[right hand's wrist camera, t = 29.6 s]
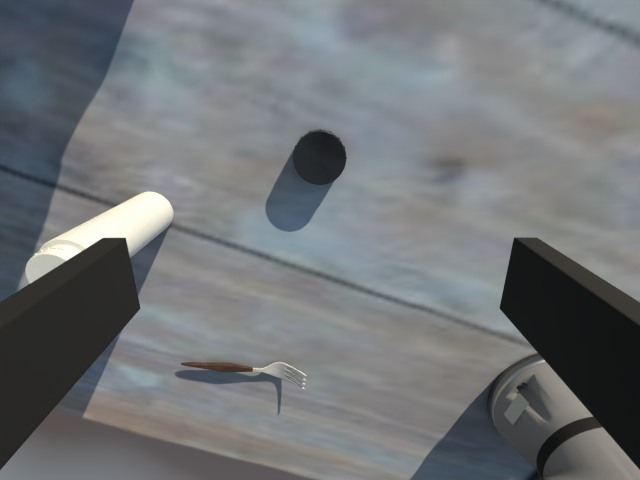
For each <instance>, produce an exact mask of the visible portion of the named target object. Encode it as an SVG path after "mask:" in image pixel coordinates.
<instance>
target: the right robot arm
mask: <svg viewBox="0 0 640 480" xmlns="http://www.w3.org/2000/svg"><path fill="white" fill-rule="evenodd" d="M139 309H140V304H139V299H138V295H137V290H136V285H135V280H134V275H133V270H132V265H131V261H130V256H129V251H128V246H127V241H126V238H102V239H100V240H99V241H97V242H96V243H94V244H92V245H91V246H89V247H88V248H86V249H84V250H83V251H81V252H80V253H78V254H76V255H75V256H73V257H72V258H70V259H69V260H67V261H65V262H64V263H62V264H61V265H59V266H57V267H56V268H54V269H53V270H51V271H49V272H48V273H46V274H45V275H43V276H42V277H40V278H38V279H37V280H35V281H34V282H32V283H30V284H29V285H27V286H26V287H24V288H23V289H21V290H19V291H18V292H16V293H15V294H13V295H11V296H10V297H8V298H7V299H5V300H3V301H2V302H0V470H1V468H2V467H3V466H4V465H5V464H6V463H7V462H8V460H9V459H10V458H11V457H12V456H13V455H14V453H15V452H16V451H17V450H18V449H19V448H20V447H21V445H22V444H23V443H24V442H25V441H26V440H27V438H28V437H29V436H30V435H31V434H32V433H33V431H34V430H35V429H36V428H37V427H38V426H39V425H40V423H41V422H42V421H43V420H44V419H45V418H46V417H47V415H48V414H49V413H50V412H51V411H52V410H53V409H54V407H55V406H56V405H57V404H58V403H59V402H60V400H61V399H62V398H63V397H64V396H65V395H66V394H67V392H68V391H69V390H70V389H71V388H72V387H73V385H74V384H75V383H76V382H77V381H78V380H79V379H80V377H81V376H82V375H83V374H84V373H85V372H86V370H87V369H88V368H89V367H90V366H91V365H92V364H93V362H94V361H95V360H96V359H97V358H98V357H99V355H100V354H101V353H102V352H103V351H104V350H105V349H106V347H107V346H108V345H109V344H110V343H111V342H112V340H113V339H114V338H115V337H116V336H117V335H118V334H119V332H120V331H121V330H122V329H123V328H124V327H125V325H126V324H127V323H128V322H129V321H130V320H131V319H132V317H133V316H134V315H135V314H136V313H137V312H138V310H139ZM500 309H501V310H502V312H503V313H504V314H505V315H506V316H507V317H508V319H509V320H510V321H511V322H512V323H513V324H514V325H515V327H516V328H517V329H518V330H519V331H520V332H521V334H522V335H523V336H524V337H525V338H526V339H527V340H528V342H529V343H530V344H531V345H532V346H533V347H534V349H535V350H536V351H537V352H538V354H534V355H531V356H529V357H526V358H524V359H522V360H520V361H518V362H516V363H515V364H513V365H512V366H510V367H509V368H508V369H507V370H506V371H504V372H503V373H502V374H501V375H500V376H499V378H498V379H497V380H496V382H495V383H494V385H493V387H492V389H491V391H490V394H489V397H488V412H489V415H490V417H491V419H492V421H493V423H494V425H495V427H496V429H497V430H498V432H499V433H500V434H501V435H502V436H503V438H504V439H505V440H506V441H507V442H509V443H510V444H511V445H512V446H513V447H514V448H515V449H516V450H517V451H518V452H519V453H520V454H521V455H522V456H523V457H524V458H525V459H526V460H527V461H528V462H529V463H531V464H532V465H533V466H534V467H535V468H536V469H537V471H538V473H537V474H536V475H535V476H534V477H533V478H532V479H531V480H640V302H638V301H637V300H635V299H633V298H632V297H630V296H629V295H627V294H625V293H624V292H622V291H621V290H619V289H617V288H616V287H614V286H613V285H611V284H610V283H608V282H606V281H605V280H603V279H602V278H600V277H598V276H597V275H595V274H594V273H592V272H591V271H589V270H587V269H586V268H584V267H583V266H581V265H579V264H578V263H576V262H575V261H573V260H571V259H570V258H568V257H567V256H565V255H564V254H562V253H560V252H559V251H557V250H556V249H554V248H552V247H551V246H549V245H548V244H546V243H544V242H543V241H541V240H540V239H538V238H514V241H513V246H512V251H511V256H510V261H509V265H508V270H507V275H506V280H505V285H504V290H503V295H502V299H501V304H500Z"/></svg>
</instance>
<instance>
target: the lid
mask: <svg viewBox="0 0 640 480" xmlns="http://www.w3.org/2000/svg"><path fill="white" fill-rule="evenodd" d="M346 159H347V158H346V152H345V147H344V146H343V144H342V142H341V141H340V138H339V137H337V136H336V135H334V134H333V133H331V131H330V132H329V131H326V130H321V129H320V130H314V131H309V132H308V133H307V134H305V135H304V136H303V137H301V139H300V140H299V142H298V143H297V145H296V146H295V150H294V155H293V160H294V166H295V168H296V170H297V172H298V174H299V175H300V176H301V177H302V178H303V179H304V180H306V181H307V182H310V183H312V184H317V185H322V184H327V183H330V182H332V181H334V180H335V179H337V178H338V177H339V176H340V174H341V173H342V171H343V169H344V167H345V163H346Z"/></svg>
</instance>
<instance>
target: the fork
mask: <svg viewBox="0 0 640 480" xmlns="http://www.w3.org/2000/svg"><path fill="white" fill-rule="evenodd" d="M181 365H185V366H190V367H197V368H203V369H210V370H216V371H223V372H264V373H267V374H269V375H272V376H274V377H277V378H280V379H284V380H287V381H289V382H291V383H293V384H295V385H297V386H299V387H301V388H302V389H305V388H303V387H302V386H300V385H299V384H297V383H296V382H294V381H292V380H290V379H289V378H287V377H290V378H292V379H294V380H296V381H298V382H300V383H302V384H304V385H305V383H303V382H301V381H300V380H298V379H297V378H295V377H293V376H291V375H290V374H288V373H287V372H289V373H291V374H294V375H296V376H298V377H300V378H301V379H303V380H306V379H304V378H303V377H301V376H299V375H298V374H296V373H294V372H293V371H291V370H289V369H288V368H291V369H293V370H295V371H297V372H299V373H301V374H303V375H305V376H306V374H304V373H302V372H301V371H299V370H297V369H296V368H294V367H292V366H290V365H288V364H286V363H283V362H275V363H272V364H270V365H268V366H266V367H264V368H253V367H248V366H243V365H237V364H231V363H193V362H188V363H181Z"/></svg>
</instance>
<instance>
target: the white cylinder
mask: <svg viewBox="0 0 640 480" xmlns="http://www.w3.org/2000/svg"><path fill="white" fill-rule="evenodd" d="M172 220H173V210H172V207H171V205H170V203H169V202H168V200H167V199H166V198H165V197H163V196H162V195H160V194H158V193H154V192H144V193H141V194H139V195H137V196H135V197H133V198H131V199H129V200H128V201H126V202H124V203H122V204H120V205H118V206H116V207H114V208H112V209H110V210H108V211H106V212H104V213H102V214H100V215H98V216H97V217H95V218H93V219H91V220H89V221H87V222H85V223H83V224H81V225H79V226H77V227H75V228H73V229H71V230H69V231H68V232H66V233H64V234H62V235H60V236H58V237H56V238H54V239H52V240H50V241H48V242H46V243H45V244H44V245H43V246H42V247H41V248H40V250H39V252H38V253H36V254H35V255H34V256H33V257H32V258H31V259H30V260H29V261H28V263H27V265H26V269H25V273H26V278H27V280H28V282H29V284H30V283H32V282H34V281H35V280H37V279H38V278H40V277H42V276H43V275H45V274H46V273H48V272H49V271H51V270H53V269H54V268H56V267H57V266H59V265H61V264H62V263H64V262H65V261H67V260H69V259H70V258H72V257H73V256H75V255H76V254H78V253H80V252H81V251H83V250H84V249H86V248H88V247H89V246H91V245H92V244H94V243H96V242H97V241H99V240H100V239H102V238H126V241H127V246H128V251H129V256H130V258H131V257H132V256H133V255H135V254H136V253H137V252H138V251H139V250H141V249H142V248H143V247H144V246H145V245H147V244H148V243H149V242H150V241H151V240H153V239H154V238H155V237H156V236H158V235H159V234H160V233H161V232H162V231H164V230H165V229H166V228H167V227H168V226H169V225H170V224H171V222H172Z"/></svg>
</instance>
